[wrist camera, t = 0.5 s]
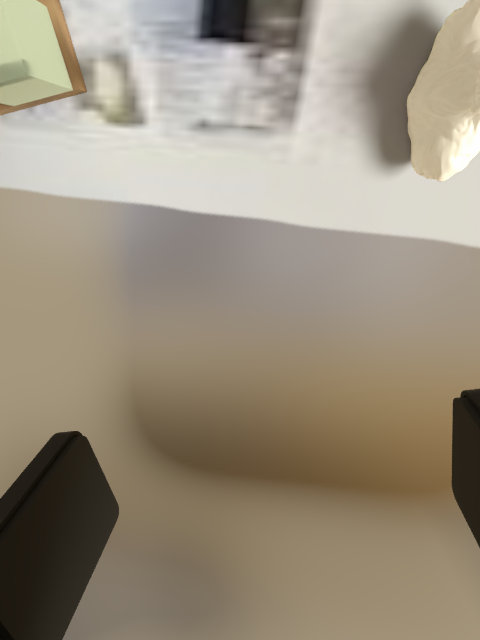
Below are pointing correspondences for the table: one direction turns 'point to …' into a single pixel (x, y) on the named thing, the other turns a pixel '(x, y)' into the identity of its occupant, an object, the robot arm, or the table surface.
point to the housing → (29, 54)
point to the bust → (448, 99)
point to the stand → (68, 56)
